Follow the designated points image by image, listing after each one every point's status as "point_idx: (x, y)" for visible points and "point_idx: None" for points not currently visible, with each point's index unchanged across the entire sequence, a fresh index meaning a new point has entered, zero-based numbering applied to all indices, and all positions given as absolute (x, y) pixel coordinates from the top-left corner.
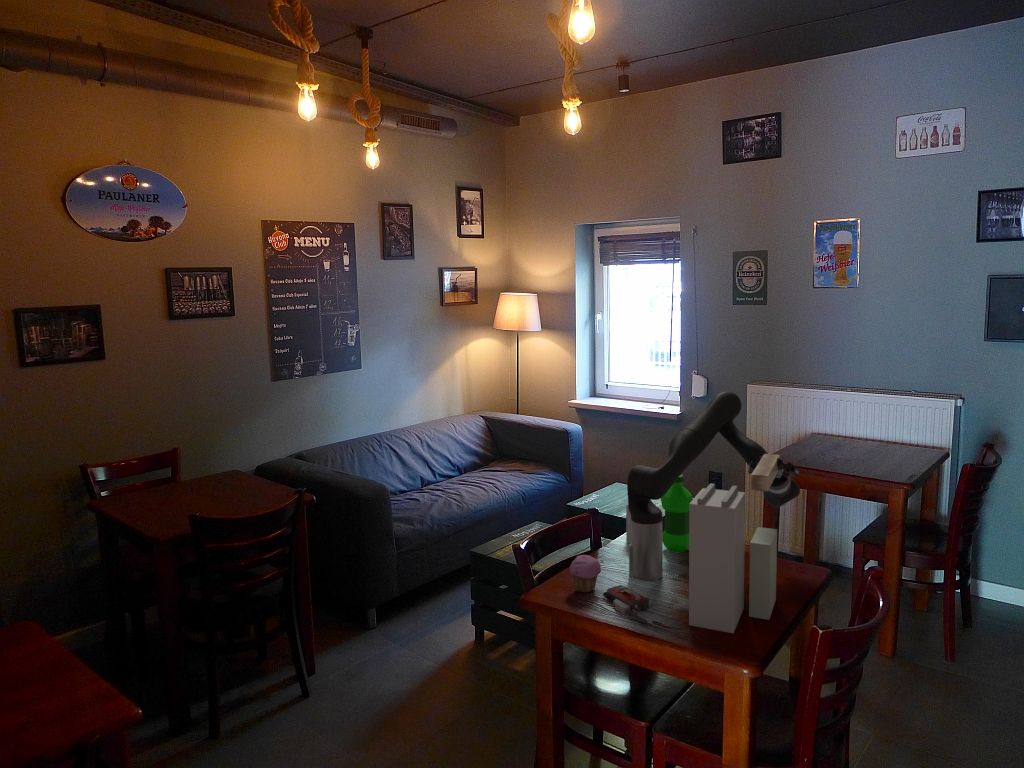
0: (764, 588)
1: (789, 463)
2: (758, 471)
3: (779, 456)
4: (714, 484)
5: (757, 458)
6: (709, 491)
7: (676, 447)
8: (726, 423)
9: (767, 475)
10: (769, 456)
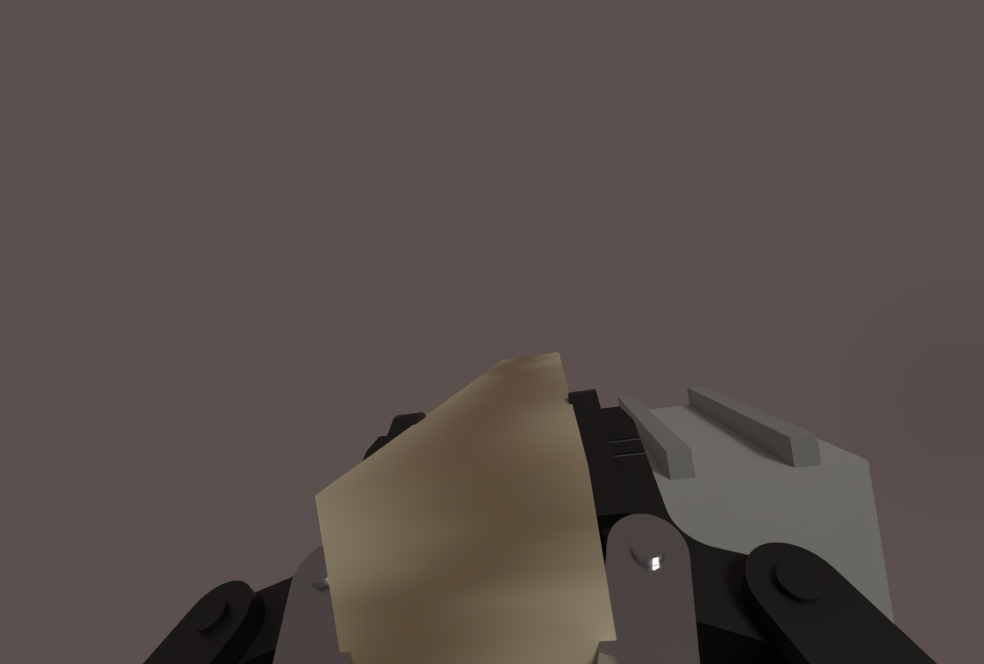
0: None
1: (233, 589)
2: (539, 358)
3: (332, 507)
4: (785, 436)
5: (624, 412)
6: (730, 412)
7: None
8: None
9: (504, 360)
10: (493, 428)
